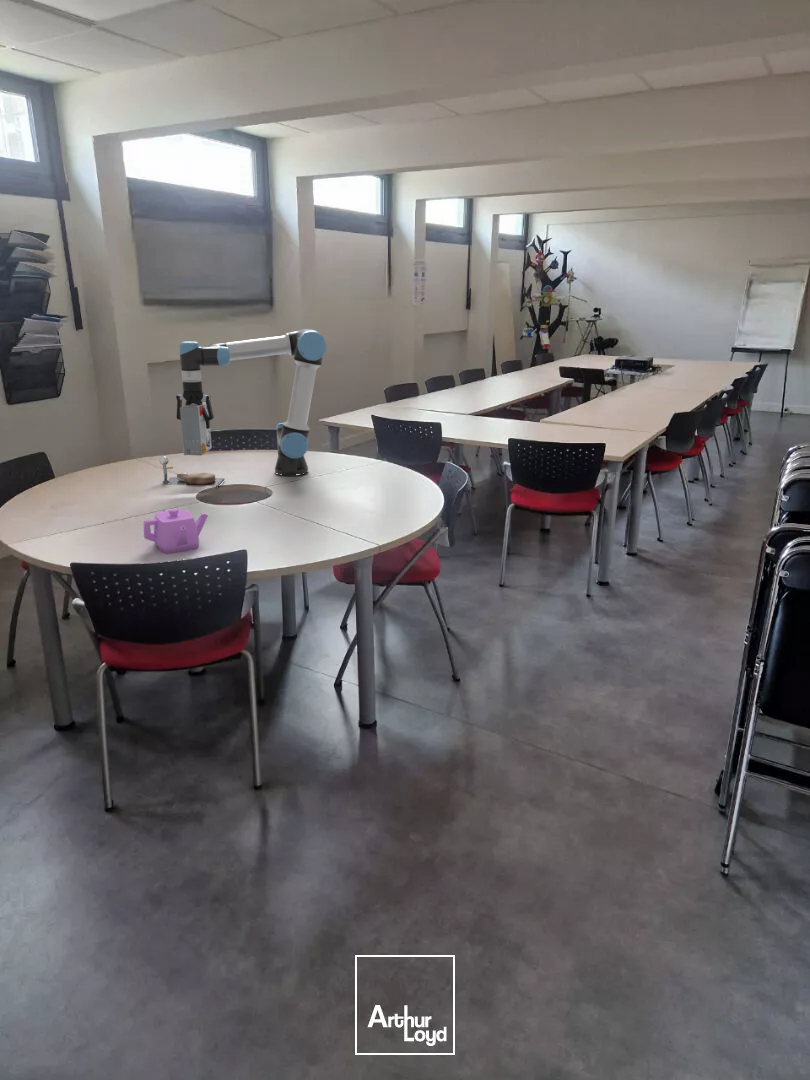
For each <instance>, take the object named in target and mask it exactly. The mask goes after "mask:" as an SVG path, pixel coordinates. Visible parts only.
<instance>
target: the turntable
mask: <svg viewBox="0 0 810 1080" xmlns="http://www.w3.org/2000/svg"><path fill="white" fill-rule="evenodd" d="M176 477H177V481H186V482H187V483H189V484H208V483H212V482H214V481H215V478H216V475H215V474H214V473H211V472H196V473H195V472H194V473H190V474H188V472H177V473H176Z"/></svg>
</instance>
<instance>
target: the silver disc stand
mask: <svg viewBox="0 0 810 1080" xmlns="http://www.w3.org/2000/svg"><path fill="white" fill-rule="evenodd" d="M159 463H160V465H162V469H163V470H162V471H163V479H162V482H163V483H166V482H169V478H168V469H170V470H171V469H174V466H167V465H168V464H169V458H168V457H167V456H160V458H159ZM163 483H162V484H163Z"/></svg>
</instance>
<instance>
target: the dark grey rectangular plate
mask: <svg viewBox="0 0 810 1080" xmlns="http://www.w3.org/2000/svg"><path fill="white" fill-rule="evenodd" d="M168 479H169V482H166V483H162V484H161V485H162V486H168V485H169V486H172V485H173V486H216V489H217V488H218V486H219V485H220V484H221V483H222V482H223V481H224V480H225V477H215V481H214V482H212V483H208V484H189V483H187V482H186V481H177V476H176V477H175V476H174V477H172V476H170V477H169V478H168ZM218 489H219V488H218Z"/></svg>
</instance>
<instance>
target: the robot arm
mask: <svg viewBox="0 0 810 1080" xmlns="http://www.w3.org/2000/svg"><path fill="white" fill-rule="evenodd" d="M326 350H327V341H326V339H325V338H324V336H323V334H322V333H320V332H319V331H317V330H315V329H311V328H304V329H303V328H302V329H300V330H296V331H291V332H286V333H285V334H284V335H280V336H270V337H263V338H254V339H245V340H239V341H238V340H237V341H230V342H221V343H214V342H213V343H210V344H209V345H208V346H200V345H199V342H198V341H192V340H191V341H188V340H187V341H181V342H180V343H179V360H180V367H181V368H180V369H181V377H182V378H181V379H182V381H183V382H182V389H183V391H182V392H183V393H182V394H178V395H176V396H175V397H176V400H177V401H176V404H177V405H176V419H177V420H180V421H181V415H180V407H182V406H183V399H184V400H185V404H184V405H190V404H197V405H203V403H202V402H203V399H204V401H205V402H206V406H207V410H208V414H209V416H208V414H207V412H206V410H205V408H203V417H204V419H205V421H204V432H205V437H207V436H208V429H209V428H210V429H211V423H210V422H211V421H212V420H214V418H215V416H214V412H213V407H212V401H211V397H212V396H211V395H210V394H209V395H208V394H205V393H204V392H203V383H202V381H201V380H202V371H201V369H202V368H201V367H202V366H203V367H204V366H207V367H209V366H212V367H215V366H217V367H218V366H221V367H224V366H229V365H230V364H231V361H238V360H246V359H255V358H262V357H270V356H279V355H289V356H290V357H292V356H293V361H294V363H295V365H296V367H295V371H294V372H295V373H294V379H293V383H292V384H293V385H292V390H291V395H290V402H289V407H288V412H287V414H288V415H287V419H286V421H284V422H279V423H277V424H276V442H277V458H276V462H275V465H274V474H276V473H278V474H282V475H296V474H303V473H306V472H307V471H308V472H309V466H308V463H307V460H306V458H305V455H306V453H307V451H308V449H309V434H310V429H311V428H310V427H309V425H308V421H309V414H310V410H311V403H312V399H313V391H314V387H315V382H316V375H317V370H318V368H321V366H322V363H323V357H324V355H325V353H326ZM306 474H307V473H306Z"/></svg>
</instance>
